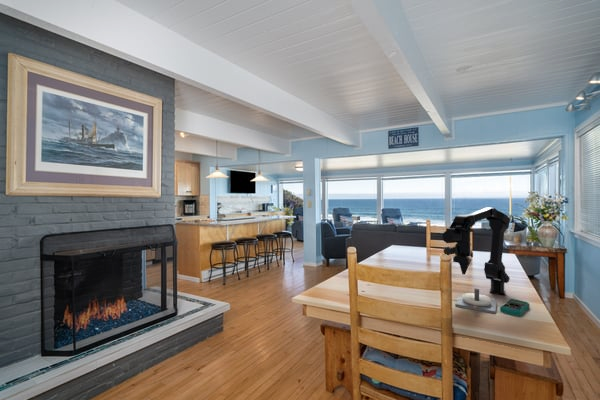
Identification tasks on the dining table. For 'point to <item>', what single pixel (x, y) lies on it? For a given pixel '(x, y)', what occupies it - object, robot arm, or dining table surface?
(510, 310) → the digital multimeter
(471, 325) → the dining table surface
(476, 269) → the dining table surface
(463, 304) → the base plate
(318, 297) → the dining table surface
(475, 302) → the dial
